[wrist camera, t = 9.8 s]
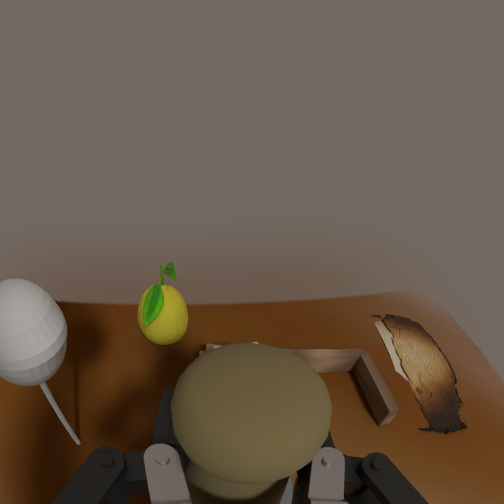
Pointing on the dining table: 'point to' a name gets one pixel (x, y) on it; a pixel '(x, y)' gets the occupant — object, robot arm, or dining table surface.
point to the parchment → (423, 371)
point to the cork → (248, 422)
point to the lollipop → (31, 338)
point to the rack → (363, 369)
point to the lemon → (163, 311)
